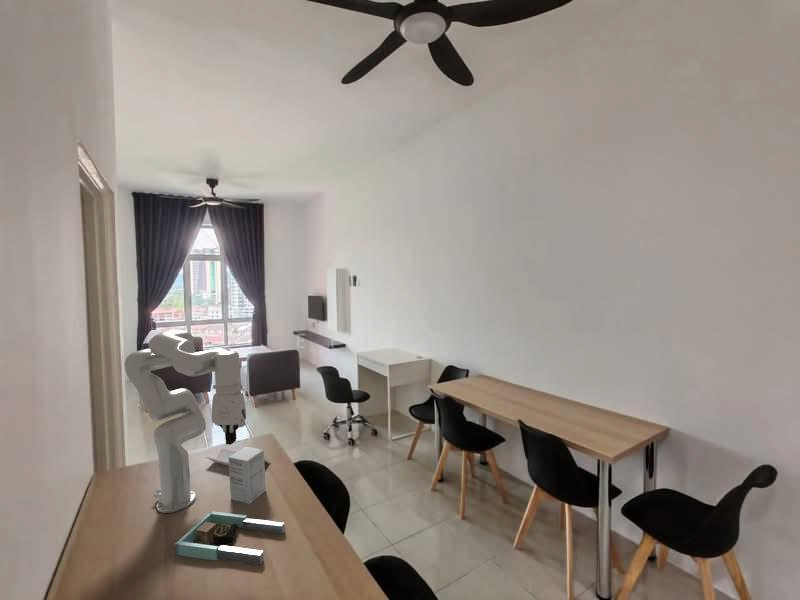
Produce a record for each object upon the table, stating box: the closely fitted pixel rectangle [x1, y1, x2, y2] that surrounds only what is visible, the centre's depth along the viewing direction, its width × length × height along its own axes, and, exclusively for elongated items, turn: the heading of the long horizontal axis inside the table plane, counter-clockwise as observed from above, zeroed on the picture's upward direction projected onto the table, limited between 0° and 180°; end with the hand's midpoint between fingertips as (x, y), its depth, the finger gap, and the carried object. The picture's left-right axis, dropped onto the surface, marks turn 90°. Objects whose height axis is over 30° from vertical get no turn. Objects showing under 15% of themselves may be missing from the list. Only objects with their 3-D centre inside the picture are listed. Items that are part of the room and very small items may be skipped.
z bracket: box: [205, 448, 271, 467], centre depth 168 cm, size 12×25×6 cm
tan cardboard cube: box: [196, 522, 217, 545], centre depth 121 cm, size 4×4×4 cm
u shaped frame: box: [174, 510, 248, 561], centre depth 120 cm, size 14×16×4 cm
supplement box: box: [228, 446, 267, 505], centre depth 144 cm, size 10×9×17 cm
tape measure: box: [211, 524, 239, 547], centre depth 120 cm, size 7×7×4 cm
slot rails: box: [217, 517, 286, 566], centre depth 118 cm, size 14×15×3 cm
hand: (231, 442), depth 125 cm, fingers closed
